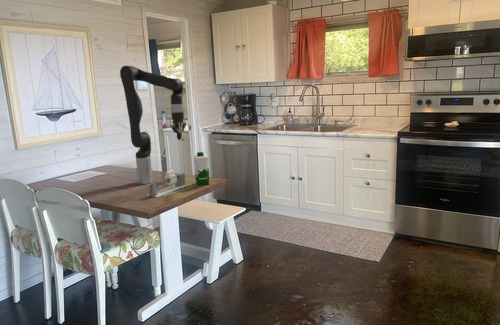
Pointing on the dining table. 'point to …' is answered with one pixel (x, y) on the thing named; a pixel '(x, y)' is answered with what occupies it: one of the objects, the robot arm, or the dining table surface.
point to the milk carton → (201, 169)
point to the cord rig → (178, 185)
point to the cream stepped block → (171, 177)
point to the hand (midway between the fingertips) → (179, 138)
